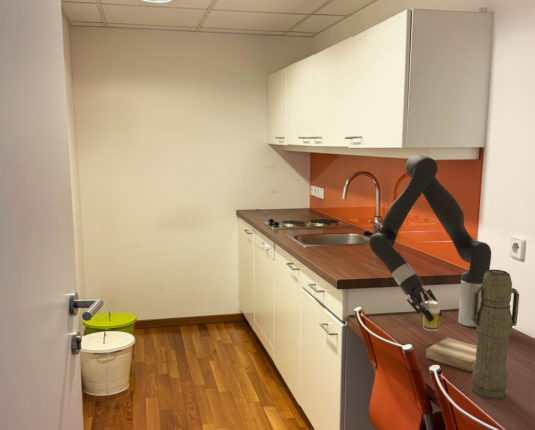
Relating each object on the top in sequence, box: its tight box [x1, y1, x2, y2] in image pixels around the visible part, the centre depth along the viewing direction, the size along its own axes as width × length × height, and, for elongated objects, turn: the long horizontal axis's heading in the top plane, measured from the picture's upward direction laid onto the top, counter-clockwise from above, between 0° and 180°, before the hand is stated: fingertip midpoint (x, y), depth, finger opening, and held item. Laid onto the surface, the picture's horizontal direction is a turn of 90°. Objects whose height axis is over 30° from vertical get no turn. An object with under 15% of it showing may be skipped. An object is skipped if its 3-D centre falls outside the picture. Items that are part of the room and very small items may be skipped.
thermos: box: [471, 269, 520, 401], centre depth 145 cm, size 9×12×35 cm
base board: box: [425, 337, 477, 372], centre depth 172 cm, size 15×15×3 cm
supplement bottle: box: [422, 300, 441, 332], centre depth 184 cm, size 5×5×10 cm
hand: (436, 318), depth 183 cm, fingers closed on supplement bottle, 5 cm apart
